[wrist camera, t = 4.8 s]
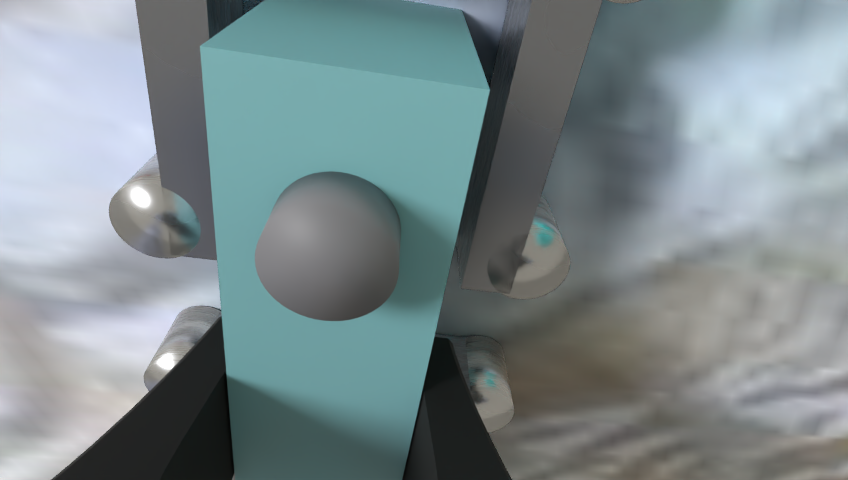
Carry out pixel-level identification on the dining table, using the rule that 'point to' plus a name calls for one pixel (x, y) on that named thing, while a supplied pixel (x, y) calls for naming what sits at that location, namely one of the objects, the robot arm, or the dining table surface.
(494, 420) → the chain end
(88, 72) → the dining table surface
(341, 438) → the teal studded beam
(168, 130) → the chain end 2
